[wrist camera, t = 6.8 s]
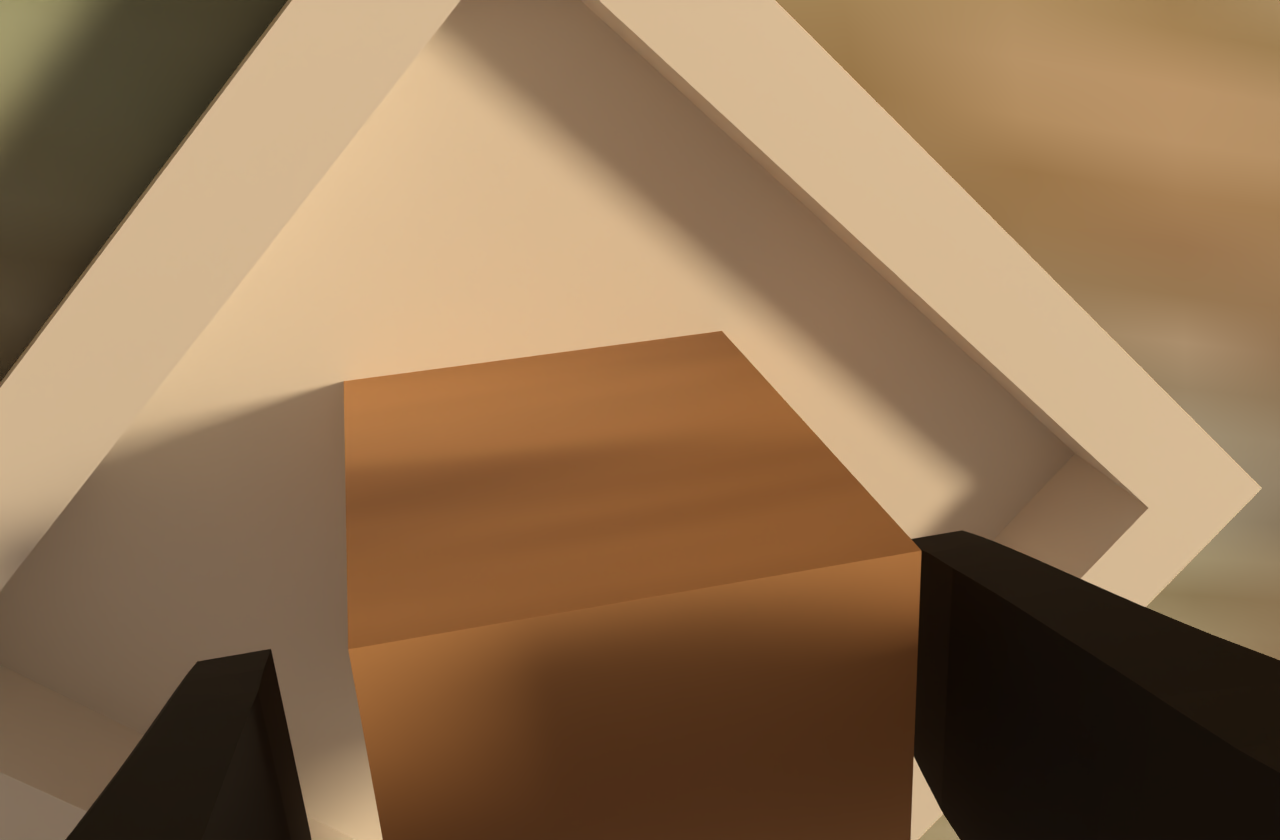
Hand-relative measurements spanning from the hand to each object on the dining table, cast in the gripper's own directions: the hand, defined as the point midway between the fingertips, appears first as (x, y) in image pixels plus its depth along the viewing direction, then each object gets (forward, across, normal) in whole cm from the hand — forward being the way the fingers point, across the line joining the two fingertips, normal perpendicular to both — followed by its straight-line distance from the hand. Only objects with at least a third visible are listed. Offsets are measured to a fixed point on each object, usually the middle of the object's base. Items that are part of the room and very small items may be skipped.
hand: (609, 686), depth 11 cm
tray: (+3, 0, 0) cm, 3 cm away
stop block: (+3, 0, 0) cm, 3 cm away
